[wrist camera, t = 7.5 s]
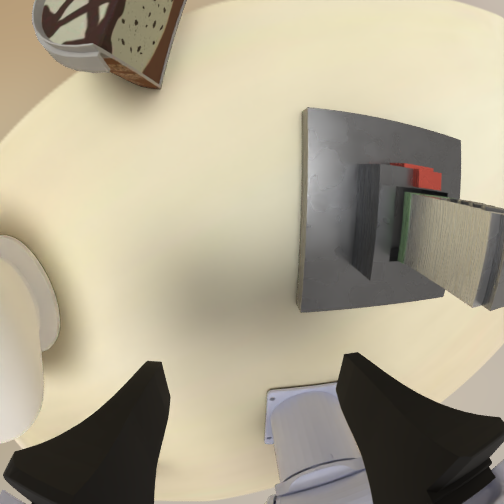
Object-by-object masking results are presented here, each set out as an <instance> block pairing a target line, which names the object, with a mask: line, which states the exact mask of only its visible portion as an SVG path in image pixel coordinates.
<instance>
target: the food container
mask: <svg viewBox="0 0 504 504" xmlns="http://www.w3.org/2000/svg"><path fill="white" fill-rule="evenodd" d="M186 1H187V0H35V2H34V5H33V11H32V24H33V27H34V29H35V33H36V36H37V38H38V40H39V42H40V43H41V44H42V45H43V47H44V48H45V49H46V50H47V51H48V52H49V54H50V55H51V56H52V57H53V58H54V59H55V60H56V61H57V62H59V63H60V64H62V65H63V66H65V67H68V68H71V69H74V70H77V71H84V72H92V73H98V72H111V73H114V74H116V75H118V76H120V77H122V78H124V79H126V80H128V81H130V82H132V83H134V84H136V85H139V86H142V87H146V88H152V89H161V86H162V82H163V78H164V74H165V70H166V66H167V62H168V58H169V54H170V51H171V47H172V44H173V40H174V37H175V34H176V30H177V27H178V24H179V21H180V18H181V15H182V12H183V9H184V6H185V4H186Z"/></svg>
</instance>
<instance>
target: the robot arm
mask: <svg viewBox="0 0 504 504" xmlns="http://www.w3.org/2000/svg"><path fill="white" fill-rule="evenodd" d="M272 397H274V398H272ZM169 407H170V393H169V390H168V386H167V382H166V378H165V374H164V370H163V366H162V362H154V361H147V362H146V363H145V364H144V365H143V366H142V367H141V368H140V369H139V370H138V371H137V372H136V373H135V374H134V375H133V376H132V378H131V379H130V380H129V381H128V382H127V383H126V384H125V385H124V386H123V387H122V388H121V389H120V390H119V391H118V392H117V393H116V394H115V395H114V396H113V397H112V398H111V399H110V400H109V401H107V402H106V403H105V404H104V405H103V406H102V407H101V408H100V409H98V410H97V411H96V412H95V413H94V414H92V415H91V416H90V417H88V418H87V419H85V420H84V421H83V422H81V423H80V424H78V425H76V426H75V427H73V428H71V429H70V430H68V431H66V432H64V433H63V434H61V435H59V436H57V437H55V438H53V439H51V440H48V441H46V442H43V443H41V444H38V445H36V446H32V447H29V448H26V449H22V450H19V451H15V452H14V454H13V456H12V458H11V460H10V462H9V463H8V466H7V468H6V470H5V472H4V474H3V476H4V478H5V480H6V481H7V482H8V483H9V484H10V485H11V486H12V487H13V488H15V489H16V490H17V491H18V492H20V493H21V494H22V495H23V496H25V497H26V498H27V499H29V500H30V501H31V502H32V504H154V490H155V477H156V468H157V462H158V458H159V454H160V449H161V445H162V441H163V437H164V433H165V429H166V425H167V421H168V415H169ZM264 441H265V444H274V448H275V454H276V460H277V466H278V472H279V479H280V482H281V483H279V484H276V485H275V489H276V494H274V495H271V496H269V498H268V499H267V501H266V503H265V504H504V460H503V461H501V462H500V463H499V464H498V465H497V466H495V468H493V469H492V470H491V469H490V468H489V466H490V465H491V464H492V461H491V460H490V458H489V457H490V456H491V455H492V454H493V453H494V452H495V450H497V448H498V447H499V446H500V445H501V444H502V443H503V442H504V422H503V421H502V420H501V418H500V417H491V416H483V415H476V414H472V413H468V412H463V411H460V410H456V409H453V408H450V407H448V406H445V405H442V404H440V403H437V402H435V401H433V400H431V399H428V398H426V397H424V396H422V395H420V394H418V393H417V392H415V391H413V390H411V389H410V388H408V387H406V386H405V385H403V384H402V383H400V382H399V381H397V380H396V379H394V378H393V377H391V376H390V375H388V374H387V373H386V372H384V371H383V370H381V369H380V368H379V367H377V366H376V365H375V364H373V363H372V362H371V361H369V360H368V359H366V358H365V357H364V356H362V355H361V354H359V353H358V352H356V353H350V354H344V357H343V362H342V366H341V370H340V374H339V378H338V382H335V383H329V384H322V385H314V386H306V387H297V388H287V389H275V390H270V391H268V393H267V405H266V423H265V439H264ZM355 441H356V442H355ZM357 446H358V447H357ZM358 448H359V449H358ZM360 453H361V454H360ZM0 504H25V503H24V502H22V501H20V500H19V499H17V498H16V497H14V496H13V495H11V494H10V493H8V492H6V491H5V490H2V492H1V494H0Z"/></svg>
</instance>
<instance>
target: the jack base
mask: <svg viewBox="0 0 504 504" xmlns="http://www.w3.org/2000/svg"><path fill="white" fill-rule="evenodd" d="M460 183H461V140H458V139H455V138H453V137H450V136H446V135H443V134H440V133H437V132H434V131H430V130H427V129H423V128H420V127H416V126H412V125H408V124H404V123H400V122H396V121H391V120H387V119H382V118H377V117H372V116H367V115H361V114H355V113H349V112H342V111H335V110H327V109H319V108H309V107H307V108H306V109H305V110H304V111H303V112H302V202H301V231H300V253H299V271H298V286H297V300H296V304H297V306H298V308H299V310H300V312H316V311H329V310H341V309H352V308H362V307H371V306H380V305H388V304H396V303H404V302H411V301H419V300H425V299H432V298H438V297H443V296H444V292H445V289H444V288H442V287H441V286H439V285H438V284H436V283H435V282H433V281H432V280H430V279H428V278H427V277H425V276H424V275H422V274H421V273H419V272H417V271H416V270H414V269H413V268H411V267H409V266H408V265H406V264H402V263H401V262H399V261H397V260H398V253H399V246H400V238H401V229H402V219H403V208H404V193H405V192H412V193H420V194H428V195H436V196H443V197H450V198H455V199H460Z"/></svg>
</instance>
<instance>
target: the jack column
mask: <svg viewBox="0 0 504 504" xmlns="http://www.w3.org/2000/svg"><path fill="white" fill-rule="evenodd" d="M397 261H399V262H401V263H402V264H406V265H408V266H409V267H411V268H413V269H414V270H416V271H417V272H419V273H421V274H422V275H424V276H425V277H427V278H428V279H430V280H432V281H433V282H435V283H436V284H438V285H439V286H441V287H442V288H444V289H445V290H447V291H448V292H450V293H451V294H453V295H454V296H456V297H457V298H459V299H460V300H462V301H463V302H464V303H466V304H467V305H469V306H470V307H472V308H473V307H477V306H481V305H482V306H484V307H485V308H487V309H488V310H489V311H492V310H495V309H498V308H501V307H504V209H503V208H498V207H495V206H491V205H486V204H483V203H478V202H472V201H466V200H460V199H455V198H450V197H443V196H436V195H428V194H420V193H412V192H405V193H404V208H403V219H402V229H401V238H400V246H399V253H398V260H397Z"/></svg>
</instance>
